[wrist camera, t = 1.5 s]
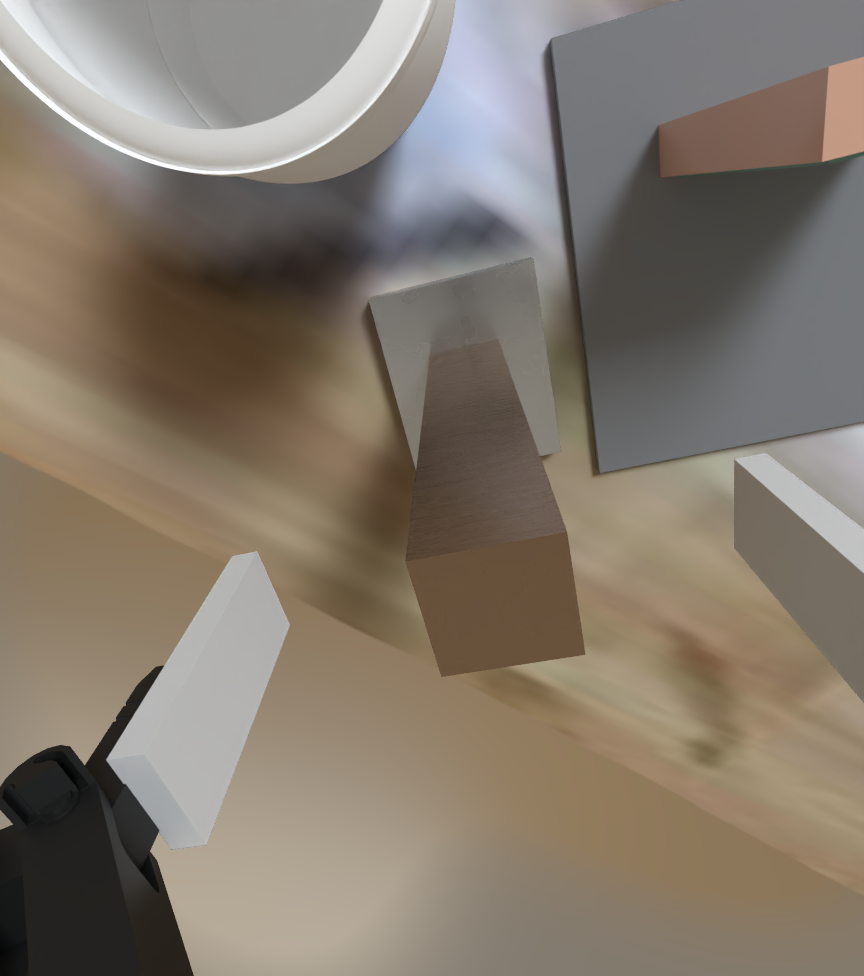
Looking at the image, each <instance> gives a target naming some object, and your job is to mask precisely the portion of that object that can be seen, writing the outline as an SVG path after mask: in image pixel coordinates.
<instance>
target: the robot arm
mask: <svg viewBox="0 0 864 976" xmlns="http://www.w3.org/2000/svg"><path fill="white" fill-rule="evenodd" d="M734 548H735V550H736V551H737V552H738V553H739V554H740V556H741V557H742V558H743V559H744V560H745V562H746V563H747V564H748V565H749V566H750V567H751V569H752V570H753V571H754V572H755V573H756V575H757V576H758V577H759V578H760V579H761V581H762V582H763V583H764V584H765V585H766V587H767V588H768V589H769V590H770V591H771V593H772V594H773V595H774V596H775V597H776V599H777V600H778V601H779V602H780V603H781V605H782V606H783V607H784V608H785V609H786V610H787V612H788V613H789V614H790V615H791V616H792V618H793V619H794V620H795V621H796V622H797V624H798V625H799V626H800V627H801V628H802V630H803V631H804V632H805V633H806V634H807V636H808V637H809V638H810V639H811V640H812V642H813V643H814V644H815V645H816V646H817V648H818V649H819V650H820V651H821V652H822V653H823V655H824V656H825V657H826V658H827V659H828V661H829V662H830V663H831V664H832V665H833V667H834V668H835V669H836V670H837V671H838V673H839V674H840V675H841V676H842V677H843V679H844V680H845V681H846V682H847V683H848V685H849V686H850V687H851V688H852V689H853V691H854V692H855V693H856V694H857V695H858V696H859V698H860V699H861V700H862V701H863V702H864V529H863V528H862V527H860V526H859V525H858V524H856V523H855V522H854V521H852V520H851V519H850V518H849V517H847V516H846V515H845V514H843V513H842V512H841V511H840V510H838V509H837V508H836V507H834V506H833V505H832V504H831V503H829V502H828V501H827V500H825V499H824V498H823V497H822V496H820V495H819V494H818V493H816V492H815V491H814V490H813V489H811V488H810V487H809V486H807V485H806V484H805V483H804V482H802V481H801V480H800V479H798V478H797V477H796V476H795V475H793V474H792V473H791V472H789V471H788V470H787V469H786V468H784V467H783V466H782V465H780V464H779V463H778V462H776V461H775V460H774V459H773V458H771V457H770V456H769V455H767V454H766V453H764V454H759V455H753V456H748V457H743V458H738V459H734ZM289 626H290V624H289V622H288V620H287V617H286V615H285V613H284V611H283V609H282V606H281V604H280V602H279V599H278V597H277V595H276V593H275V590H274V588H273V586H272V584H271V581H270V579H269V577H268V575H267V572H266V570H265V568H264V566H263V564H262V561H261V559H260V557H259V555H258V552H251V553H246V554H241V555H236V556H232V558H231V559H230V561H229V562H228V564H227V566H226V567H225V569H224V570H223V572H222V574H221V575H220V577H219V579H218V580H217V582H216V583H215V585H214V587H213V588H212V590H211V591H210V593H209V595H208V596H207V598H206V599H205V601H204V603H203V604H202V606H201V608H200V609H199V611H198V613H197V614H196V616H195V617H194V619H193V621H192V622H191V624H190V626H189V627H188V629H187V630H186V632H185V633H184V635H183V637H182V638H181V640H180V642H179V643H178V645H177V646H176V648H175V650H174V651H173V653H172V655H171V656H170V658H169V659H168V661H167V662H166V664H165V665H164V666H158V667H155V668H154V669H153V670H152V671H151V672H150V673H149V674H148V675H147V676H146V677H145V678H144V679H143V680H142V681H141V682H140V683H139V684H138V685H137V686H136V688H135V689H134V691H133V692H132V694H131V695H130V697H129V699H128V700H127V702H126V706H124V707H123V708H122V709H121V711H120V712H119V714H118V715H117V717H116V721H115V722H113V723H112V725H111V726H110V728H109V729H108V731H107V732H106V734H105V735H104V737H103V739H102V740H101V742H100V743H99V745H98V746H97V748H96V749H95V751H94V753H93V754H92V755H91V757H90V759H89V760H88V762H87V763H86V765H84V764H83V763H82V761H81V760H80V759H79V758H78V756H77V755H76V754H75V752H74V751H73V750H72V748H71V747H70V746H63V745H59V746H55V747H51V748H47V749H45V750H43V751H41V752H40V753H37V754H35V755H34V756H32V757H30V758H29V759H28V760H26V761H25V762H24V763H22V764H21V765H19V766H18V767H17V768H16V769H15V770H14V771H13V772H12V773H11V774H10V775H9V776H8V777H7V778H6V779H5V781H4V782H3V784H2V785H1V787H0V810H1V811H2V812H3V813H4V814H5V815H6V817H7V818H8V819H9V820H10V821H11V822H12V823H13V825H11V826H9V827H6V828H4V829H1V830H0V976H194V975H193V972H192V969H191V966H190V962H189V959H188V956H187V953H186V950H185V947H184V944H183V940H182V937H181V934H180V931H179V928H178V925H177V922H176V919H175V915H174V912H173V909H172V906H171V903H170V900H169V897H168V893H167V891H166V887H165V884H164V881H163V878H162V875H161V872H160V868H159V865H158V862H157V860H156V859H155V857H154V856H153V855H152V854H151V852H150V850H151V848H152V845H153V843H154V841H155V839H156V836H157V835H158V833H160V834H161V836H162V837H163V839H164V840H165V841H166V843H167V844H168V845H169V847H170V848H171V849H172V850H173V849H180V848H189V847H197V846H205V845H207V842H208V840H209V837H210V834H211V832H212V829H213V826H214V824H215V821H216V819H217V816H218V813H219V811H220V808H221V805H222V803H223V800H224V797H225V795H226V792H227V789H228V787H229V784H230V781H231V779H232V776H233V773H234V771H235V768H236V766H237V763H238V761H239V758H240V755H241V753H242V750H243V747H244V745H245V742H246V739H247V737H248V734H249V732H250V729H251V726H252V724H253V721H254V718H255V716H256V713H257V710H258V708H259V705H260V703H261V700H262V697H263V695H264V692H265V689H266V687H267V684H268V681H269V679H270V676H271V673H272V671H273V668H274V666H275V663H276V661H277V657H278V655H279V653H280V650H281V647H282V645H283V642H284V639H285V637H286V634H287V631H288V629H289Z"/></svg>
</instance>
